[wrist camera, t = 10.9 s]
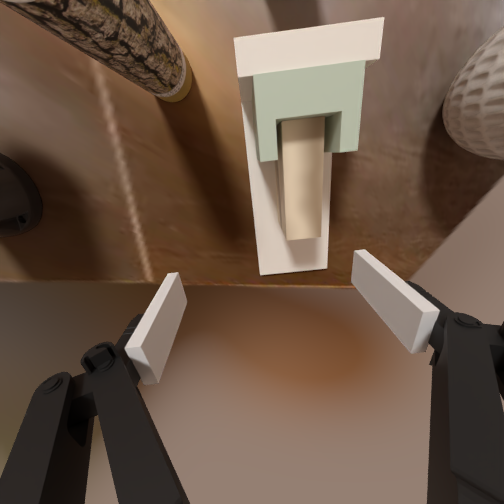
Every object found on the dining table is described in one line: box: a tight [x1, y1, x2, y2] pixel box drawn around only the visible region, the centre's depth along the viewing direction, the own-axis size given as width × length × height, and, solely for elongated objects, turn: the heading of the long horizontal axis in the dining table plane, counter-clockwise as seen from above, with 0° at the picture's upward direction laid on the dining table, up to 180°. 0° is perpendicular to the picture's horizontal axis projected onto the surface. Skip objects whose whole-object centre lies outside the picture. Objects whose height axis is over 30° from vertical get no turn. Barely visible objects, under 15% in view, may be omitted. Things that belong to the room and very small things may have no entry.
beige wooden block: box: [275, 116, 325, 241], centre depth 32 cm, size 5×15×10 cm, turn 6°
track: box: [234, 17, 384, 275], centre depth 33 cm, size 14×34×13 cm, turn 6°
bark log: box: [0, 0, 192, 102], centre depth 20 cm, size 7×7×25 cm
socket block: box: [251, 60, 366, 162], centre depth 28 cm, size 11×8×12 cm
